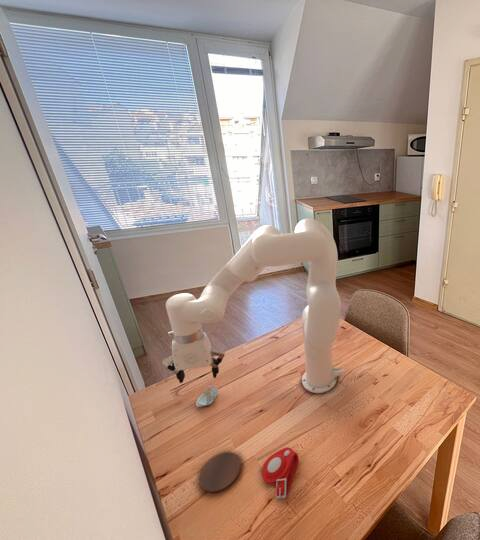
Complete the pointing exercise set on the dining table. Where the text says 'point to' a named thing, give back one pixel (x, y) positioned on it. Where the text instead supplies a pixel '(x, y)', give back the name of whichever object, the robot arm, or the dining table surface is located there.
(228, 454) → the dark brown coaster
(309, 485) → the dining table surface
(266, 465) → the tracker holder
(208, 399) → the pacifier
